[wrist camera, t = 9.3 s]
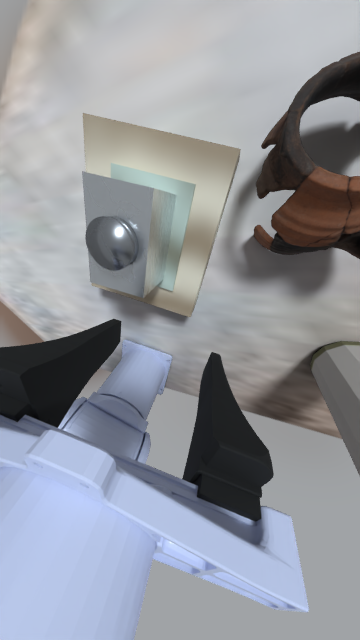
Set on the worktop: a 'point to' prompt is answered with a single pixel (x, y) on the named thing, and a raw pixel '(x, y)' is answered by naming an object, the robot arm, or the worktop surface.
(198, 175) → the stand
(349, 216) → the broken clay pot shard
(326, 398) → the bottle
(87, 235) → the block
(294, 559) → the robot arm
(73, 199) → the worktop surface
